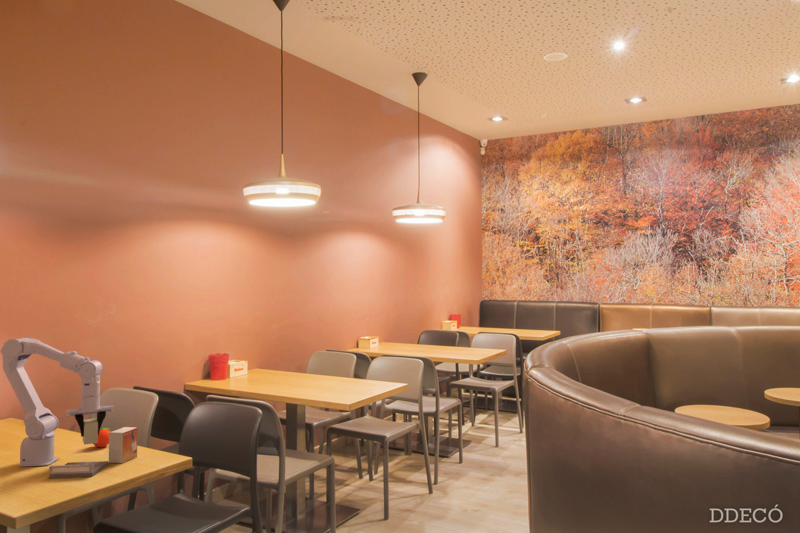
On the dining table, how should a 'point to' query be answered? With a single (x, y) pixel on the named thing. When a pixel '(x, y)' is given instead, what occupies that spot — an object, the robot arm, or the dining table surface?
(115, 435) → the small box
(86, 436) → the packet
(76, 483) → the dining table surface
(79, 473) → the grey square slab
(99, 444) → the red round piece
